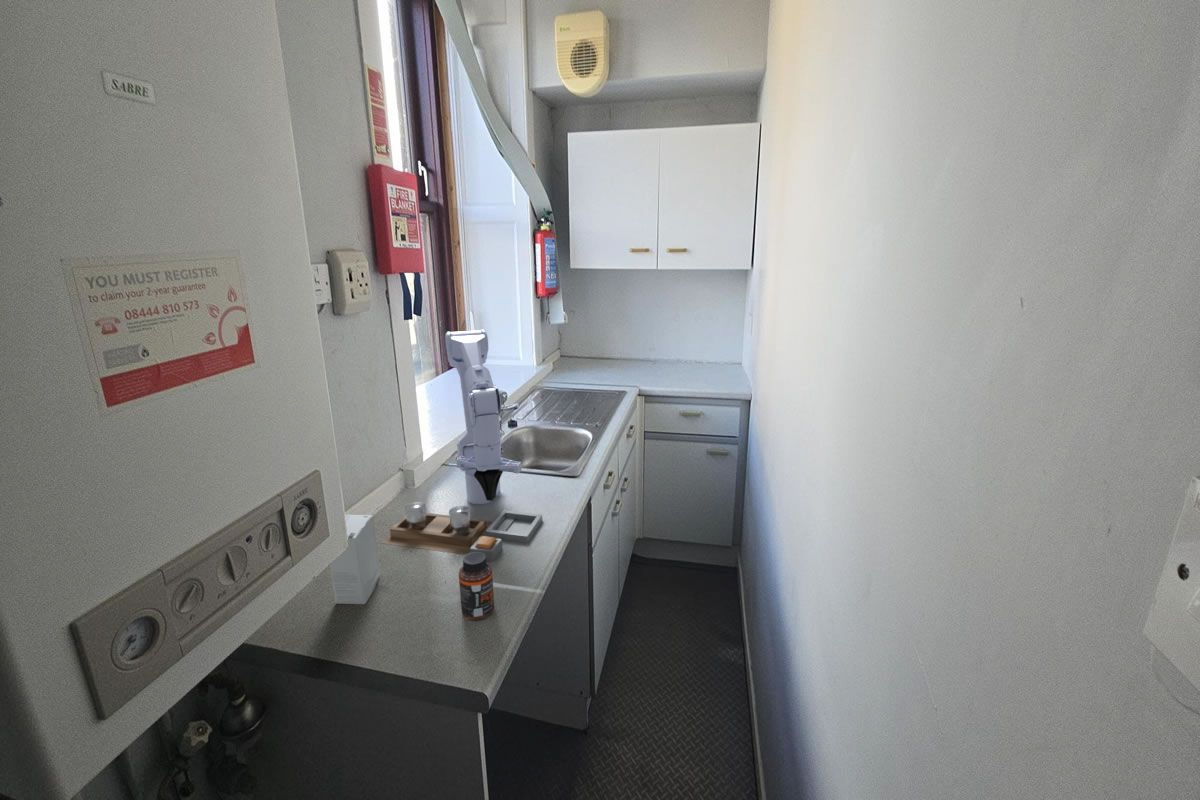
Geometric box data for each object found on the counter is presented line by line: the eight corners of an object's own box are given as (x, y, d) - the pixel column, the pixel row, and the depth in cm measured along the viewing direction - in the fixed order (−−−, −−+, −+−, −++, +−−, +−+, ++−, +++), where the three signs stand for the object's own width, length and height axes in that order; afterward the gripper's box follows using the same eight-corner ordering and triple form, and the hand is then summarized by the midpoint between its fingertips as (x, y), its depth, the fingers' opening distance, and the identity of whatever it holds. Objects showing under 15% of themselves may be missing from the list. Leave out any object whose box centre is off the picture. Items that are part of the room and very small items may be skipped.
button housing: (481, 548, 121) (480, 536, 120) (502, 550, 120) (501, 538, 119) (471, 560, 116) (470, 548, 115) (493, 563, 115) (492, 551, 114)
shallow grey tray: (503, 517, 134) (502, 510, 133) (542, 522, 131) (542, 514, 131) (486, 539, 124) (485, 531, 124) (527, 544, 122) (527, 536, 121)
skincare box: (353, 578, 111) (343, 512, 106) (383, 578, 110) (374, 513, 106) (334, 606, 102) (321, 536, 98) (366, 606, 102) (355, 536, 98)
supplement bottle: (487, 624, 98) (482, 569, 94) (456, 619, 99) (450, 565, 95) (499, 602, 103) (496, 550, 100) (470, 598, 104) (465, 546, 101)
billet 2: (457, 528, 127) (455, 504, 125) (474, 530, 126) (472, 507, 124) (447, 537, 123) (445, 514, 121) (465, 540, 122) (463, 516, 120)
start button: (483, 547, 120) (482, 535, 119) (496, 549, 119) (495, 537, 118) (477, 555, 117) (476, 543, 116) (490, 557, 116) (489, 544, 115)
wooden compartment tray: (415, 516, 135) (414, 505, 134) (494, 525, 130) (494, 514, 129) (381, 546, 122) (379, 534, 121) (468, 558, 117) (466, 546, 116)
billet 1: (414, 523, 129) (411, 500, 127) (431, 525, 128) (428, 502, 127) (404, 533, 125) (401, 509, 123) (421, 535, 124) (418, 511, 122)
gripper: (447, 446, 117) (453, 503, 121) (511, 452, 114) (514, 510, 118) (463, 434, 124) (467, 489, 128) (523, 439, 120) (526, 495, 124)
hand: (491, 498), depth 123 cm, fingers closed
